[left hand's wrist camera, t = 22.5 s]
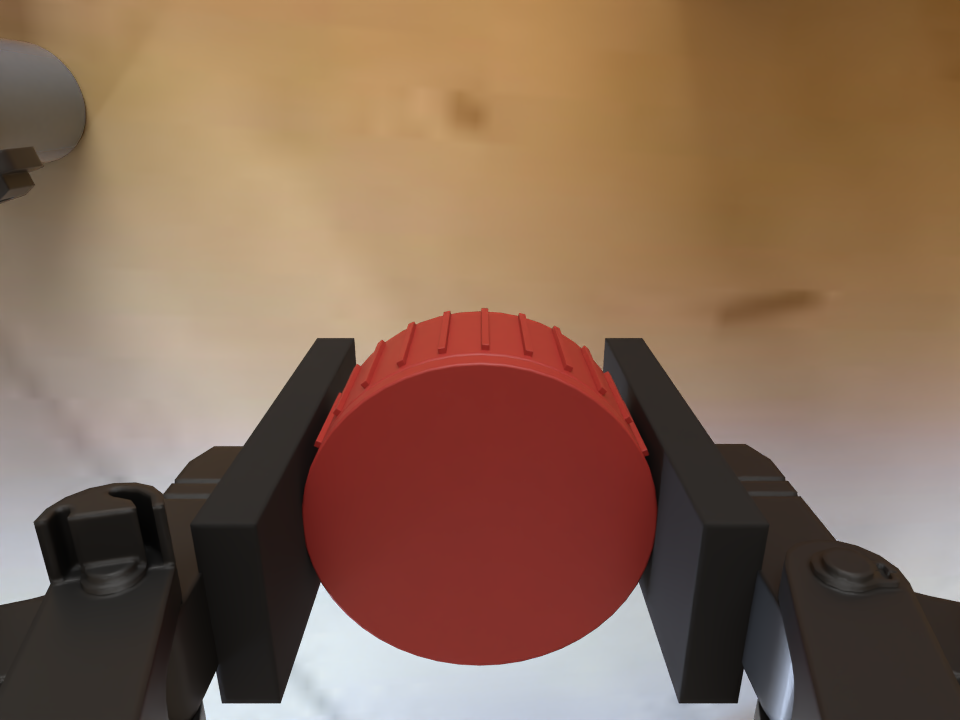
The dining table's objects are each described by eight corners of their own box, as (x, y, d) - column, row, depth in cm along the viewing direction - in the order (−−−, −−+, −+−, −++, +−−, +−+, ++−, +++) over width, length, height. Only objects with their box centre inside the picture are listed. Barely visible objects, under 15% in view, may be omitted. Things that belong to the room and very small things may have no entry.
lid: (383, 597, 13) (363, 698, 11) (286, 349, 11) (238, 411, 9) (652, 538, 13) (688, 631, 11) (596, 270, 11) (626, 313, 9)
